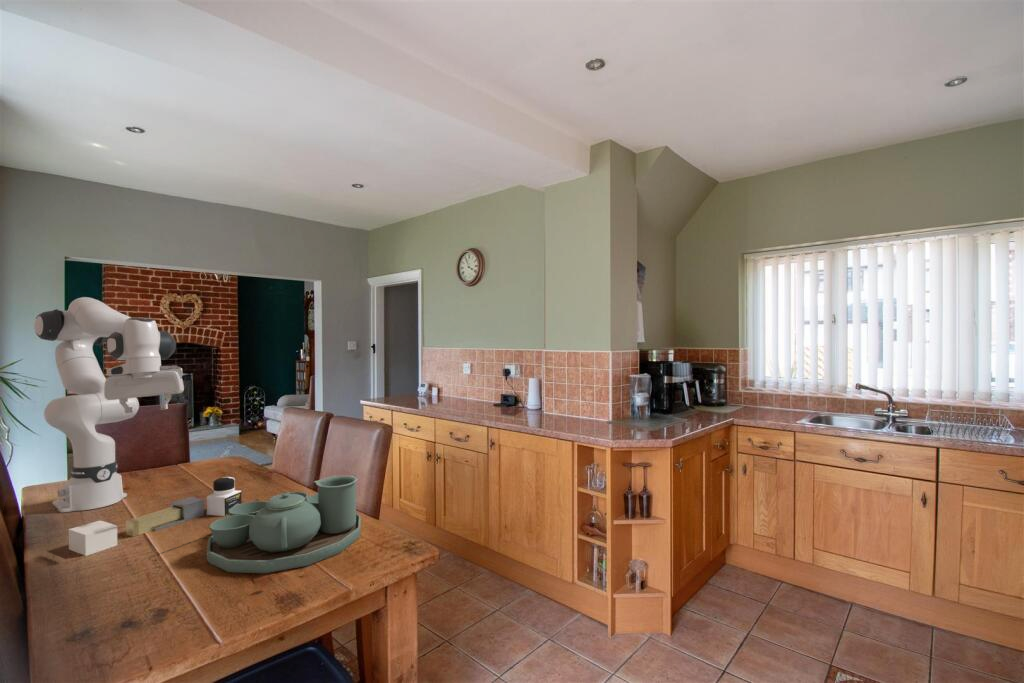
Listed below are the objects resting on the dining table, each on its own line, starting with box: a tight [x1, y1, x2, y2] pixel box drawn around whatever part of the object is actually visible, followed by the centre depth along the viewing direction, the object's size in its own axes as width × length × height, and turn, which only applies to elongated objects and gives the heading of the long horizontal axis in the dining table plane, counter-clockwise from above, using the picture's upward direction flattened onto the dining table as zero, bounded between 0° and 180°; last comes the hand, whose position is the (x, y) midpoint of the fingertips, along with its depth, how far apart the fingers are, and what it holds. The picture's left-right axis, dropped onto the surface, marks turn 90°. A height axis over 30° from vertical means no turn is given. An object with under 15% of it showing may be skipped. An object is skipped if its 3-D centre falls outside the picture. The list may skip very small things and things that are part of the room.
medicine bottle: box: [206, 476, 242, 517], centre depth 155 cm, size 7×7×12 cm
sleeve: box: [153, 496, 205, 532], centre depth 147 cm, size 8×14×6 cm, turn 154°
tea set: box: [206, 474, 362, 574], centre depth 135 cm, size 40×40×16 cm
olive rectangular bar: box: [125, 506, 182, 538], centre depth 144 cm, size 4×16×4 cm, turn 154°
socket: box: [68, 519, 118, 557], centre depth 129 cm, size 9×7×6 cm
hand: (146, 411), depth 149 cm, fingers open, 8 cm apart
